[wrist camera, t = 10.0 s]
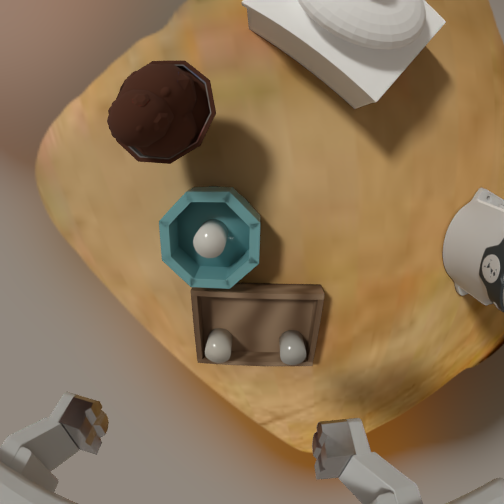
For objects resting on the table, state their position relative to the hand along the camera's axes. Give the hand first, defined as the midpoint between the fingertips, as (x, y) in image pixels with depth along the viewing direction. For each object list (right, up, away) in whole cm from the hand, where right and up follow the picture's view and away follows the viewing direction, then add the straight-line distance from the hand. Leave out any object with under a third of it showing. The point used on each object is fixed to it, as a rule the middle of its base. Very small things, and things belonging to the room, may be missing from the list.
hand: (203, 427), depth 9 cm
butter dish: (+13, +36, +20) cm, 43 cm away
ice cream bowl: (-7, +23, +25) cm, 35 cm away
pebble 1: (-3, +9, +29) cm, 31 cm away
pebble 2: (-3, -7, +35) cm, 36 cm away
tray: (+2, -4, +35) cm, 35 cm away
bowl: (-3, +9, +30) cm, 31 cm away
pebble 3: (+8, -7, +35) cm, 37 cm away
